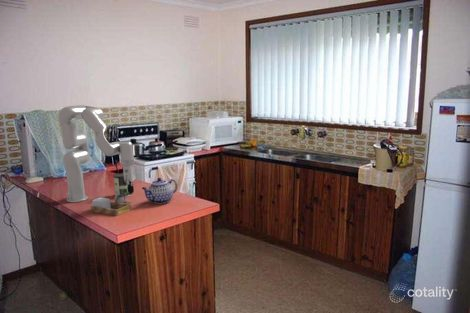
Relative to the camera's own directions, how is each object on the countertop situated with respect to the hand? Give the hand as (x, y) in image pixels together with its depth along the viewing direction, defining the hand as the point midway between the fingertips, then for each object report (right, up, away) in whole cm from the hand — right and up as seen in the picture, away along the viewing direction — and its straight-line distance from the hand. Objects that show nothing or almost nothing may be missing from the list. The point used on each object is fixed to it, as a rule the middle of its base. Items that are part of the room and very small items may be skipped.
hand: (130, 192), depth 228 cm
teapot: (+18, -6, +4) cm, 19 cm away
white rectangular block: (-15, -9, -8) cm, 19 cm away
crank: (-4, -2, +2) cm, 5 cm away
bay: (-9, -10, -11) cm, 17 cm away
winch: (-7, -7, +2) cm, 10 cm away
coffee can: (-10, -4, +20) cm, 23 cm away
